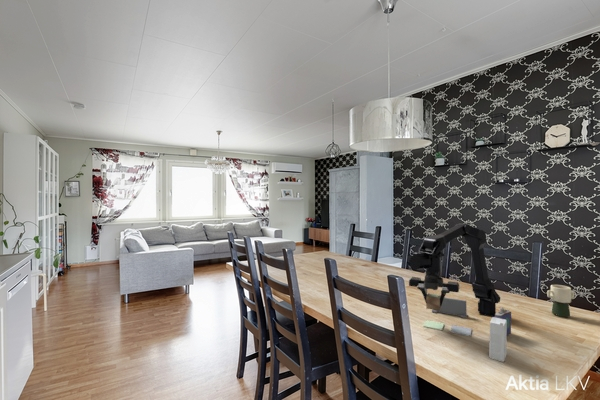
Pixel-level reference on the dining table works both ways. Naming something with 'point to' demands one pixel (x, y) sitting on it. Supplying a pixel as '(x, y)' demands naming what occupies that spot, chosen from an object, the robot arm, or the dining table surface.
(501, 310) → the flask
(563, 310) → the character mug
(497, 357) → the skincare box
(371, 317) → the dining table surface
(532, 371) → the dining table surface
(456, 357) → the dining table surface
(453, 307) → the screen
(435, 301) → the letter cube
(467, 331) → the slate pad
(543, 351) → the dining table surface
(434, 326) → the green pad
